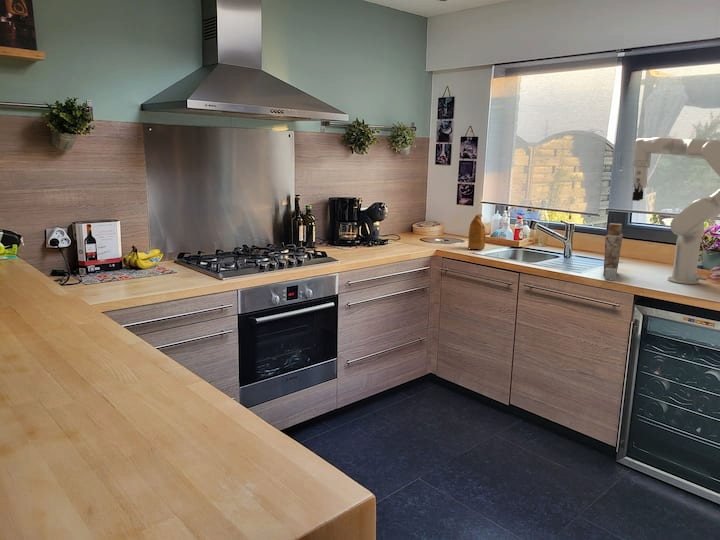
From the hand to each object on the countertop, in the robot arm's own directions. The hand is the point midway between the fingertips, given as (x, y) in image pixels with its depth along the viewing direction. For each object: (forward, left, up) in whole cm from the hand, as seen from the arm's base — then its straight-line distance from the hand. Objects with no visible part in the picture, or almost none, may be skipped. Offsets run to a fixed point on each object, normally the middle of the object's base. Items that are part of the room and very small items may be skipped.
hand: (637, 200), depth 269 cm
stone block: (+7, +11, -36) cm, 39 cm away
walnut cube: (+7, +11, -16) cm, 21 cm away
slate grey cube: (+5, +23, -36) cm, 43 cm away
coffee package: (+91, -23, -36) cm, 101 cm away
